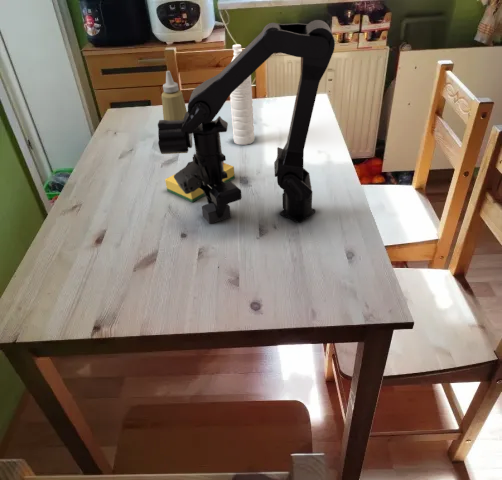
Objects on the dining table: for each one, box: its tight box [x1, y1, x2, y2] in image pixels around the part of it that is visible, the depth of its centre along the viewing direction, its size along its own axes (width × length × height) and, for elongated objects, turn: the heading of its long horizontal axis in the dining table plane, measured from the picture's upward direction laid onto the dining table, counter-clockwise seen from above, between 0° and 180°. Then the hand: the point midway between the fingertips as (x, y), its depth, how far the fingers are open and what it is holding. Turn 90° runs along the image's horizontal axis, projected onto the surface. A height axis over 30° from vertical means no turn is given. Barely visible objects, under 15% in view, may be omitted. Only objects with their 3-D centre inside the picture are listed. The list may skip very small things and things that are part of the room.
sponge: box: [164, 162, 236, 203], centre depth 125 cm, size 16×10×3 cm, turn 138°
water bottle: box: [229, 43, 255, 146], centre depth 135 cm, size 9×6×25 cm
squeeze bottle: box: [161, 70, 188, 121], centre depth 145 cm, size 8×8×18 cm
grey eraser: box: [201, 202, 232, 225], centre depth 113 cm, size 6×4×3 cm
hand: (216, 213), depth 113 cm, fingers closed on grey eraser, 4 cm apart
